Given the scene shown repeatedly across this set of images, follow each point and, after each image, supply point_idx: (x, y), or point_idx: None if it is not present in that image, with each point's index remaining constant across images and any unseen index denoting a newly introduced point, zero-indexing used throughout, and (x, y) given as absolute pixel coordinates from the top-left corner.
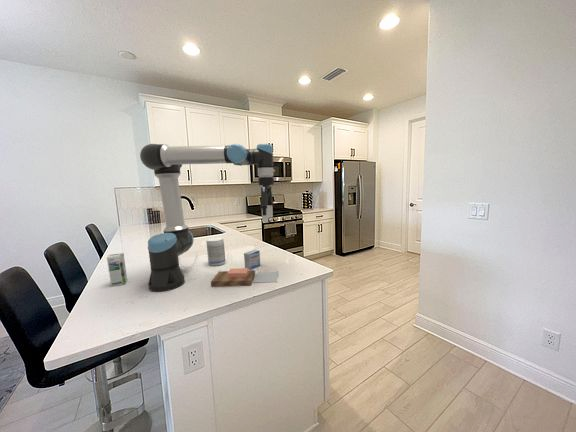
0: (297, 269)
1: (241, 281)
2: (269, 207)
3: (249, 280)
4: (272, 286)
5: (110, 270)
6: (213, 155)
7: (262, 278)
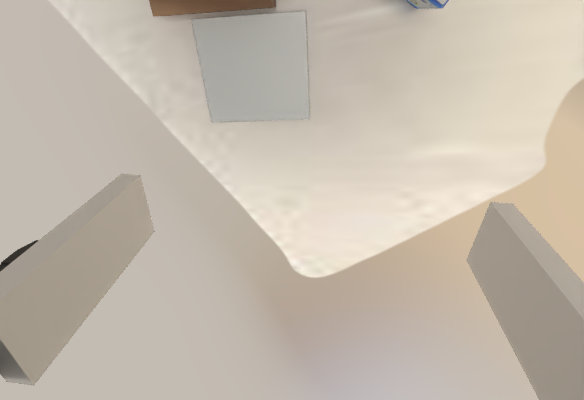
0: (334, 191)
1: None
2: (569, 373)
3: (152, 10)
4: (175, 109)
5: None
6: None
7: (233, 57)
